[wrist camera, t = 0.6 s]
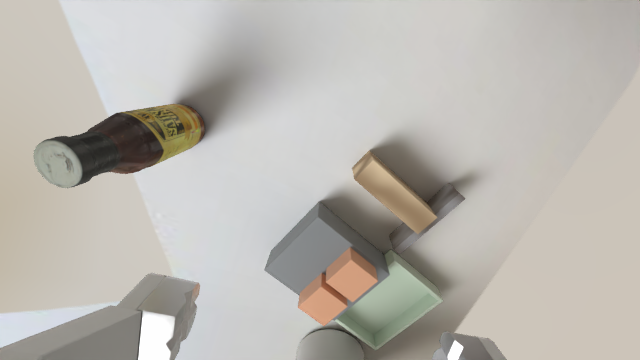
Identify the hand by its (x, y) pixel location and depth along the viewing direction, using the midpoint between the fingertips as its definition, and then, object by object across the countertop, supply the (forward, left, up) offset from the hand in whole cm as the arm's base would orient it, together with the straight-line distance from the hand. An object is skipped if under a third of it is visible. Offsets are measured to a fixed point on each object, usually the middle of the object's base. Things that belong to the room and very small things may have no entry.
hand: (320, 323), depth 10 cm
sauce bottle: (+13, -16, -34) cm, 40 cm away
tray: (+15, +25, -34) cm, 45 cm away
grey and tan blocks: (0, +12, -34) cm, 36 cm away
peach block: (+12, +15, -29) cm, 34 cm away
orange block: (+18, +15, -29) cm, 37 cm away
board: (+15, +13, -34) cm, 39 cm away
